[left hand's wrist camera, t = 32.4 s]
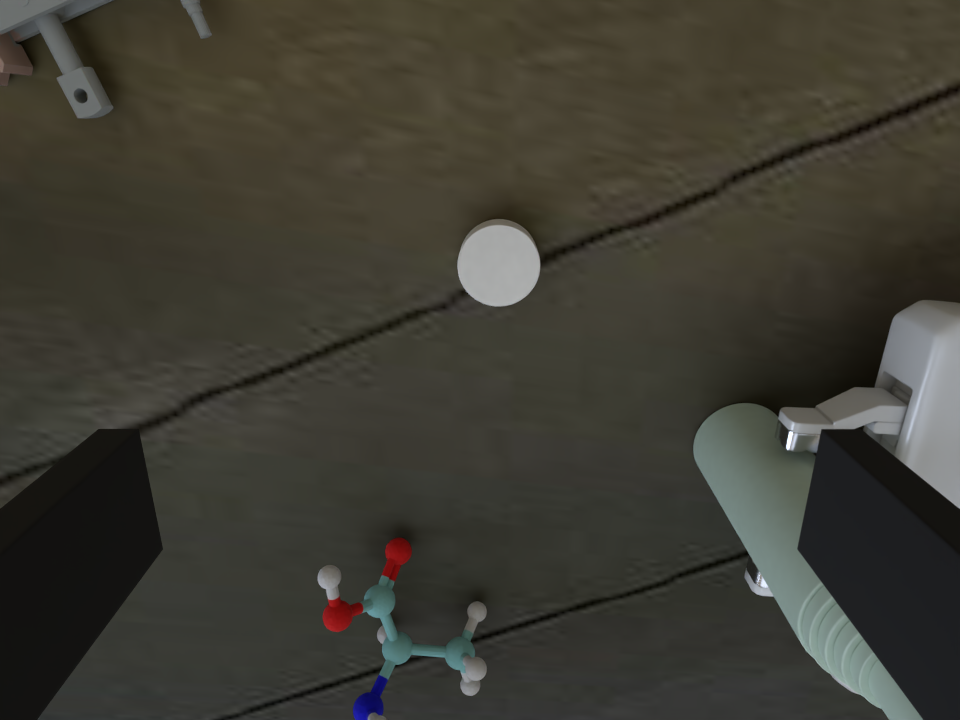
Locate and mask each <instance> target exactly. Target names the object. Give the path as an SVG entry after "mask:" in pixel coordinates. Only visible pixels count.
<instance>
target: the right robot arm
mask: <svg viewBox="0 0 960 720" xmlns="http://www.w3.org/2000/svg"><path fill="white" fill-rule="evenodd" d="M861 426H864V428H863V431H864V432H865V433H867V434H868V435H869V436H870V437H872V438H873V439H874V440H875V441H877V442H878V443H879V444H880V445H882V446H883V447H884V448H885V449H886V450H888V451H889V452H890V453H891V454H893V455H894V456H895V457H896V458H898V459H899V460H900V461H901V462H902V463H904V464H905V465H906V466H907V467H909V468H910V469H911V470H912V471H914V472H915V473H916V474H917V475H918V476H920V477H921V478H922V479H923V480H925V481H926V482H927V483H928V484H930V485H931V486H932V487H933V488H935V489H936V490H937V491H938V492H939V493H941V494H942V495H943V496H944V497H946V498H947V499H948V500H949V501H951V502H952V503H953V504H954V505H955V506H957V507H958V508H959V509H960V303H955V302H946V301H935V300H921V301H918V302H916V303H914V304H913V305H911V306H909V307H907V308H905V309H904V310H902V311H900V312H899V313H897V314H896V315H895V316H894V318H893V320H892V323H891V326H890V330H889V334H888V338H887V342H886V346H885V349H884V353H883V357H882V361H881V365H880V368H879V372H878V376H877V380H876V383H875V387H874V388H867V387H854V388H852V389H850V390H848V391H846V392H843V393H841V394H839V395H837V396H835V397H833V398H831V399H829V400H827V401H825V402H823V403H821V404H818V405H816V407H815V408H798V407H783V408H781V409H780V413H779V418H778V422H777V427H776V432H775V438H776V440H779V441H780V443H781V445H782V447H783V448H785V449H787V450H790V451H793V452H803V451H805V450H809V451H810V452H811V453H817V448H818V443H819V439H820V434H821V429H856V428H858V427H861ZM745 579H746V581H747V582H748V584H749V586H750V588H751V590H752V591H753V592H755V593H756V594H758V595H761V596H773V594H772V592H771V591H770V589H769V587H768V586H767V584H766V582H765V580H764V579H763V577H762V575H761V573H760V572H759V570H758V568H757V567H756V565H755V563H754V561H753V560H752V558H751V556H750V555H749V559H748V563H747V567H746V571H745ZM831 675H832V674H831ZM832 677H833V678H834V679H835V680H836V681H837V682H839V683H840V684H841V685H843V686H844V687H845V688H847V689H848V690H850V691H851V692H854V693H856V694H858V693H857V692H855V691H854V690H853V689H851V688H850V687H849V686H848V685H846V684H844V683H843V682H841V681H840V680H839V679H837V678H836V677H835V676H833V675H832Z"/></svg>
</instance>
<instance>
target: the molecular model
mask: <svg viewBox="0 0 960 720" xmlns="http://www.w3.org/2000/svg"><path fill="white" fill-rule="evenodd" d="M411 554H412V549H411V546H410V543H409V542H408V541H407V540H405V539H403V538H394V539H393V540H391V541H390V542H389V543H388V544H387V546H386V549H385V555H386V558H387V559H388V560H387V563H386V565H385V568H384V570H383V573H382V576H381V578H380V581H379V583H378V585H374V586H373V587H371V588H370V589H369V590H368V591H367V592H366V594H365V596H364V601H361V602H358V603H355V604H353V605H349V604H348V603H347V602H345V601H342V600H340V595H339V590H338V586H337V585H338V584H339V583H340V580H341V572H340V570H339V569H338V568H337V567H336V566H334V565H327V566H325V567H323V568H322V569H321V570H320V571H319V574H318V582H319V584H320V586H321V587H323V588H324V589H326V592H327V596H328V601H329V605H328V606H327V607H326V608H325V610H324V612H323V622H324V625H325V626H326V627H327V628H328V629H329V630H331V631H335V632H339V631H343V630H344V629H346V628H347V627H348V626H349V625H350V623H351V621H352V618H353V616H356V615H358V614H361V613H364V612H367V613H368V614H369V615H371V616H373V617H376V618H380V619H381V621H382V624H383V626H381V627H380V628H379V630H378V632H377V637H378V640H379V641H380V643H382V644H383V646H382V652H383V656H384V657H385V659H386V661H385V663H384V665H383V667H382V670H381V672H380V674H379V676H378V678H377V680H376V682H375V684H374V686H373V688H372V690H371V692H370V693H369V692H367V693H364V694H362V695H361V696H359V697H358V698H357V700H356V701H355V703H354V707H353V714H354V718H355V720H387V719H386V717H384V716H382V714H383V702H382V700H381V698H380V696H381V694H382V692H383V690H384V687H385V685H386V683H387V681H388V679H389V677H390V675H391V673H392V670H393V668H394V666H395V665H398V664H402V663H404V662H406V661H407V660H408V659H409V658H410V656H411V655H421V656H433V657H445V659H446V662H447V663H448V665H449V666H450V667H452V668H453V669H456V670H460V671H461V674H462V677H463V678H462V680H461V684H460V685H461V689H462V691H463V693H464V694H466V695H469V696H472V695H475V694H476V693H477V692H478V691H479V689H480V681H479V680H481V679H482V678H483V677H484V676H485V674H486V671H487V667H486V664H485V662H484V661H483V659H481V658H479V657H475V650H474V647H473V644H472V643H471V642H470V640H471V638H472V636H473V633H474V631H475V628H476V626H477V624H478V622H480V621H482V620H483V619H484V618H485V617H486V614H487V610H486V607H485V605H484V604H483V603H481V602H478V601H476V602H473V603H471V604H470V605H469V607H468V609H467V614H468V617H469V619H468V622H467V624H466V626H465V629H464V631H463V634H462V636H461V637H456V638H453V639H452V640H450V641H449V642H448V644H447V645H446V646H435V645H423V644H412V641H411V639H410V637H409V636H408V635H407V634H406V633H403V632H399V631H397V630H396V628H395V625H394V622H393V620H392V617H391V615H390V612H391V611H392V610H393V608H394V606H395V595H394V592H393V591H392V588H393V586H394V583H395V580H396V577H397V575H398V572H399V569H400V567H401V565H402V564H404V563H406V562H407V561H408V560H409V558H410V557H411Z"/></svg>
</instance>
